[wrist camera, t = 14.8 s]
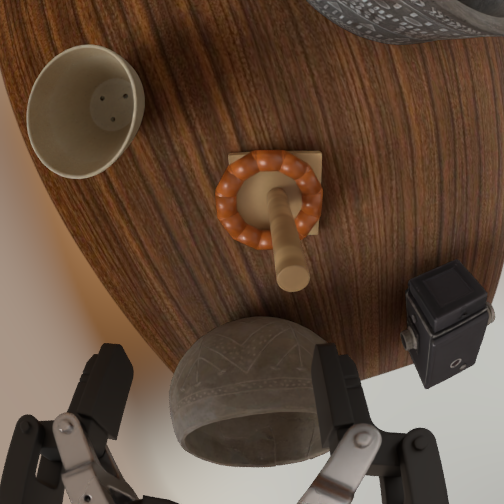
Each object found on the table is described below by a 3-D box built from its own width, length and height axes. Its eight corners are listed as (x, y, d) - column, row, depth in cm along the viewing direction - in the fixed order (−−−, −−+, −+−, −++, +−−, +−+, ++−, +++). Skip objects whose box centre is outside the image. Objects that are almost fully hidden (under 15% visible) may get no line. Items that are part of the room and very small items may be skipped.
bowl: (368, 323, 36) (402, 421, 23) (280, 396, 45) (285, 476, 32) (226, 256, 30) (211, 382, 17) (162, 358, 39) (141, 449, 27)
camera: (449, 307, 36) (456, 233, 28) (481, 365, 27) (510, 299, 19) (390, 334, 39) (382, 266, 30) (415, 399, 30) (424, 347, 21)
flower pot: (189, 106, 22) (166, 113, 16) (112, 175, 25) (75, 204, 19) (125, 31, 18) (85, 18, 12) (56, 106, 21) (9, 119, 15)
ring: (221, 244, 28) (219, 254, 27) (213, 149, 23) (210, 154, 22) (316, 242, 28) (319, 251, 26) (322, 148, 23) (327, 152, 22)
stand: (235, 233, 29) (225, 333, 18) (228, 152, 24) (209, 213, 13) (316, 230, 28) (352, 325, 17) (319, 150, 24) (376, 208, 13)
